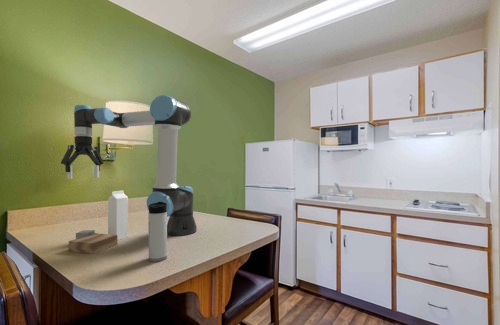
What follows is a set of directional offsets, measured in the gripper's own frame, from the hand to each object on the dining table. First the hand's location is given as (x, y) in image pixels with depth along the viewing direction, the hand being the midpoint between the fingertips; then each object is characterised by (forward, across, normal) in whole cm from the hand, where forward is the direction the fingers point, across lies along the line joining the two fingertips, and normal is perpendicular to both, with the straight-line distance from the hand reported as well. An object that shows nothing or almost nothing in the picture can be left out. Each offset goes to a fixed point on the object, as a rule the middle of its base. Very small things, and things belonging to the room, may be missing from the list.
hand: (83, 178), depth 127 cm
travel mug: (+28, +14, +60) cm, 68 cm away
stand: (+28, +14, +27) cm, 41 cm away
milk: (+28, 0, +24) cm, 37 cm away
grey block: (+28, +11, +17) cm, 34 cm away
